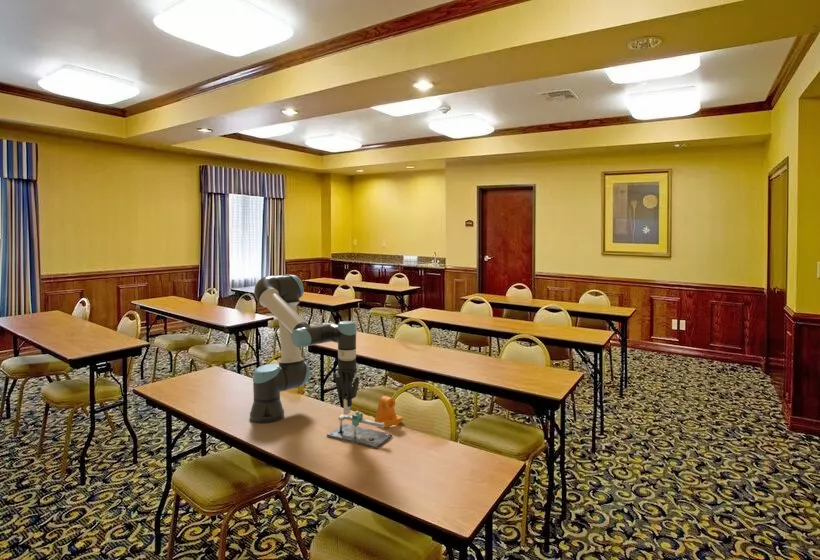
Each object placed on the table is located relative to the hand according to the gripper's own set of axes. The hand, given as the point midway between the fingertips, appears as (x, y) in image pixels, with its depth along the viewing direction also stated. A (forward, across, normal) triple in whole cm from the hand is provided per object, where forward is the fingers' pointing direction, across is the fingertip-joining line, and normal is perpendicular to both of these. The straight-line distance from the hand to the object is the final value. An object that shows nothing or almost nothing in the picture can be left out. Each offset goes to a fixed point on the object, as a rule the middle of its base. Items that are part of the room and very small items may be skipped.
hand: (346, 413), depth 201 cm
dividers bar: (+8, +7, -1) cm, 11 cm away
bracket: (+9, +10, +18) cm, 23 cm away
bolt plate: (+9, +6, 0) cm, 11 cm away
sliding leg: (+8, +5, 0) cm, 9 cm away
